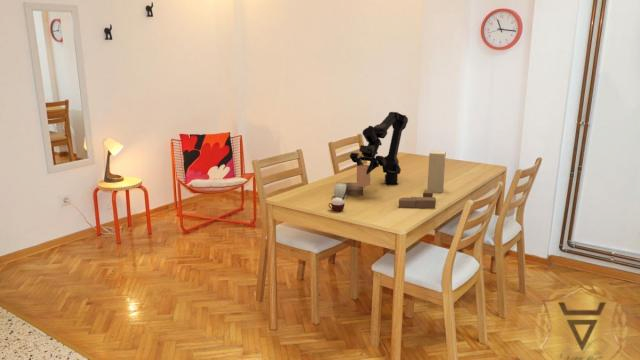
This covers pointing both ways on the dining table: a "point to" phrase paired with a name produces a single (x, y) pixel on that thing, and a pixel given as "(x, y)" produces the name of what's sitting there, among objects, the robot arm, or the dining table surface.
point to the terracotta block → (363, 176)
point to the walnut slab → (354, 189)
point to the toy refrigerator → (436, 171)
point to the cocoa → (338, 203)
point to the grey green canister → (339, 190)
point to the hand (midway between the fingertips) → (362, 173)
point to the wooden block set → (419, 201)
